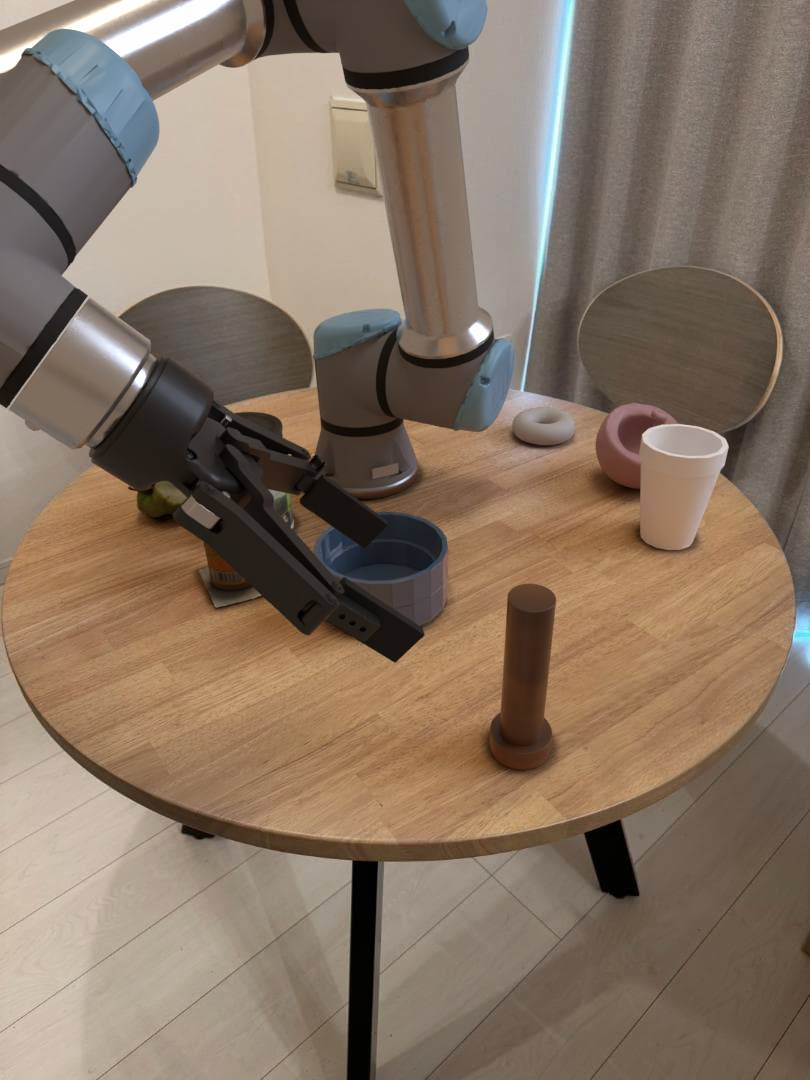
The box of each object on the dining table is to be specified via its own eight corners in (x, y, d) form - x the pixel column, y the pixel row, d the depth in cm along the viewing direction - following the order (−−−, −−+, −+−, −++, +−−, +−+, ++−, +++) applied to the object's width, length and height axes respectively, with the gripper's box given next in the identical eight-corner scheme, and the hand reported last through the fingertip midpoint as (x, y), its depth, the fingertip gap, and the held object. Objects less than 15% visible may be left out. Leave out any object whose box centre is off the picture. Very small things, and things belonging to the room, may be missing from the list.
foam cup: (710, 560, 87) (734, 461, 80) (629, 553, 88) (645, 455, 82) (700, 520, 95) (720, 426, 88) (625, 514, 96) (640, 421, 89)
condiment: (258, 555, 90) (244, 467, 84) (279, 591, 84) (266, 499, 77) (198, 571, 88) (179, 482, 81) (215, 610, 81) (196, 516, 75)
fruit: (152, 543, 96) (125, 490, 92) (144, 516, 103) (119, 466, 99) (219, 515, 98) (196, 462, 94) (206, 491, 106) (184, 441, 101)
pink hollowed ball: (627, 512, 97) (639, 431, 91) (574, 474, 106) (582, 399, 100) (698, 492, 101) (715, 414, 95) (641, 458, 110) (653, 385, 104)
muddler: (486, 724, 66) (493, 578, 57) (544, 722, 66) (559, 576, 57) (493, 771, 61) (501, 620, 53) (555, 769, 61) (573, 617, 53)
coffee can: (287, 503, 101) (275, 406, 94) (300, 541, 93) (288, 438, 85) (211, 515, 99) (192, 417, 91) (217, 555, 91) (197, 451, 83)
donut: (515, 450, 114) (580, 448, 113) (515, 430, 112) (582, 427, 112) (508, 424, 122) (569, 422, 122) (508, 405, 120) (570, 402, 120)
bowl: (325, 563, 88) (320, 513, 85) (443, 560, 88) (443, 509, 85) (314, 640, 76) (308, 585, 73) (451, 636, 76) (452, 581, 73)
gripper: (114, 377, 53) (336, 530, 63) (32, 566, 32) (383, 749, 42) (175, 297, 51) (395, 468, 61) (131, 444, 30) (474, 667, 40)
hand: (390, 584), depth 52 cm, fingers open, 13 cm apart
